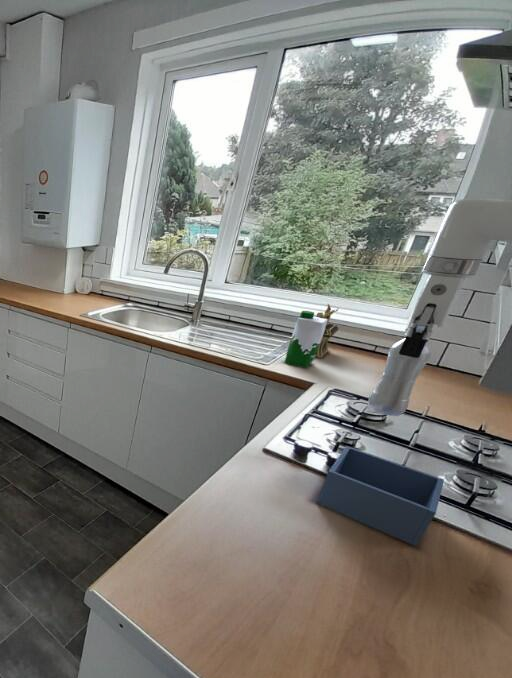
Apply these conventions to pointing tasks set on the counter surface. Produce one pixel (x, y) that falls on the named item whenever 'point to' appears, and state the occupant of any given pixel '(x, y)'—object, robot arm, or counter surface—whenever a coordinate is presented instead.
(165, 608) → the counter surface
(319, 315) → the brown figurine
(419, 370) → the plastic bottle
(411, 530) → the tote
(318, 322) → the milk carton
